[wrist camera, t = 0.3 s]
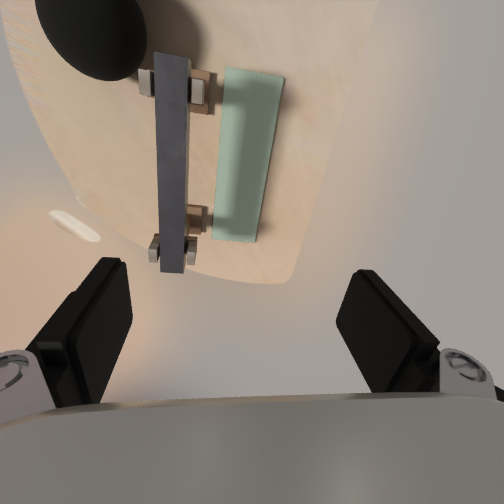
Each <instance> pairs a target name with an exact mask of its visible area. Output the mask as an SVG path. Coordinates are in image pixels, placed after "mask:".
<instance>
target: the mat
mask: <svg viewBox="0 0 504 504" xmlns="http://www.w3.org/2000/svg"><path fill="white" fill-rule="evenodd" d="M283 80H284V78H283V77H278V76H273V75H268V74H263V73H257V72H252V71H247V70H242V69H237V68H232V67H227V66H226V69H225V81H224V93H223V105H222V118H221V130H220V142H219V154H218V167H217V179H216V191H215V203H214V215H213V228H212V239H218V240H230V241H241V242H253V243H255V238H256V232H257V226H258V221H259V215H260V209H261V204H262V198H263V192H264V187H265V181H266V175H267V170H268V164H269V159H270V153H271V147H272V142H273V136H274V130H275V125H276V119H277V113H278V108H279V102H280V97H281V91H282V85H283Z"/></svg>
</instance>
